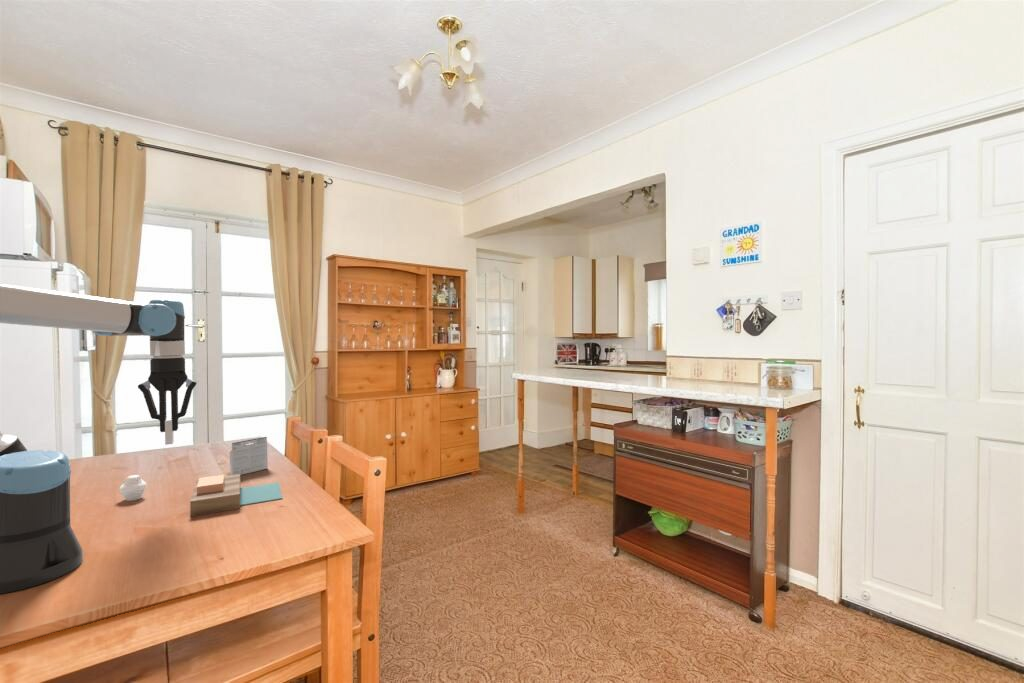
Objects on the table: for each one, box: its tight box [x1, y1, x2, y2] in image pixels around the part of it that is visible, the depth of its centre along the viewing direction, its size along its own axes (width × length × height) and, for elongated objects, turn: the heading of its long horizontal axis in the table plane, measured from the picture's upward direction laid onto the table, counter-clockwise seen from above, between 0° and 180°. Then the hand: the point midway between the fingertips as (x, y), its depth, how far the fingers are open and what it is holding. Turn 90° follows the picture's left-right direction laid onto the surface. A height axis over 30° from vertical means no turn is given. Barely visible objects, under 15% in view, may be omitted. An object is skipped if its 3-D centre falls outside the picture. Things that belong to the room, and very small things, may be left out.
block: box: [197, 474, 225, 494], centre depth 128 cm, size 9×6×2 cm, turn 31°
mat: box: [240, 481, 283, 507], centre depth 134 cm, size 16×11×1 cm
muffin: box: [118, 474, 148, 502], centre depth 130 cm, size 6×6×7 cm
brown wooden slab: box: [189, 474, 241, 518], centre depth 129 cm, size 20×11×4 cm, turn 31°
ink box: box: [229, 436, 269, 476], centre depth 155 cm, size 12×2×12 cm, turn 141°
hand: (169, 443), depth 123 cm, fingers closed
